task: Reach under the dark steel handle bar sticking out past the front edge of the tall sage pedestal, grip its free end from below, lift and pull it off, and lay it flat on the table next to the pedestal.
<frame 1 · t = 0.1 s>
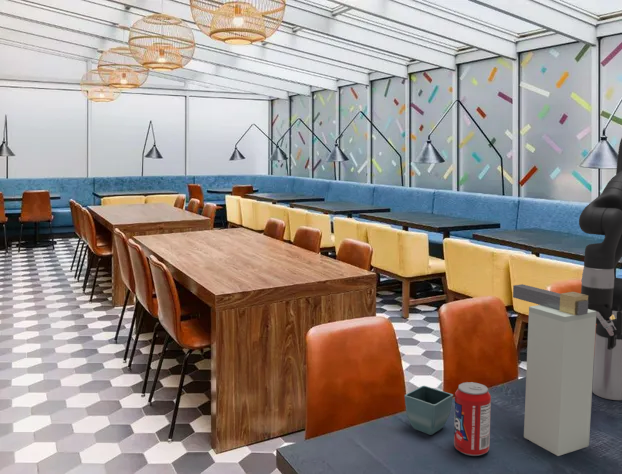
hand: (593, 345, 152), 17 cm above the table, tool pointing down, fingers open, 8 cm apart
flower pot: (428, 430, 143), on the table
soda can: (471, 450, 133), on the table
steel handle bar: (548, 305, 136), point 32 cm above the table, touching sage pedestal
sage pedestal: (555, 441, 136), on the table
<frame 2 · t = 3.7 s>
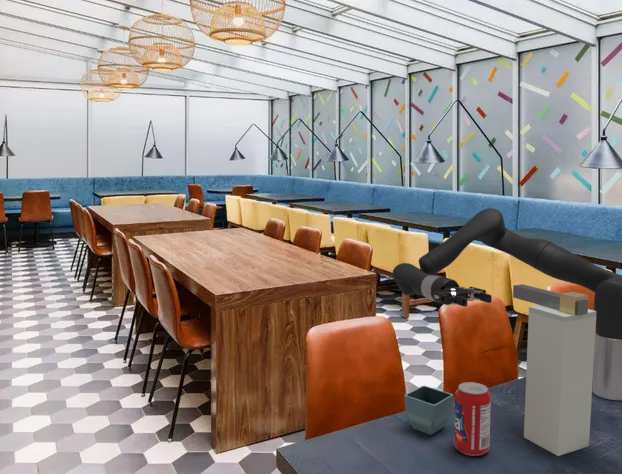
hand: (478, 301, 156), 28 cm above the table, tool horizontal, fingers open, 8 cm apart
nothing on the table moved.
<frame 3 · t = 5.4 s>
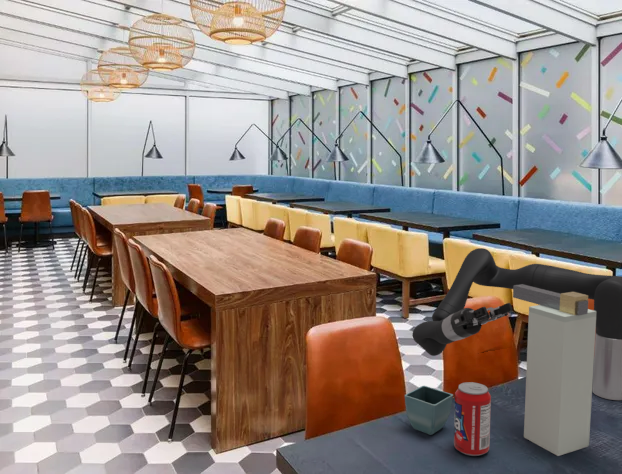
hand: (498, 308, 150), 28 cm above the table, tool pointing upward, fingers open, 8 cm apart
nothing on the table moved.
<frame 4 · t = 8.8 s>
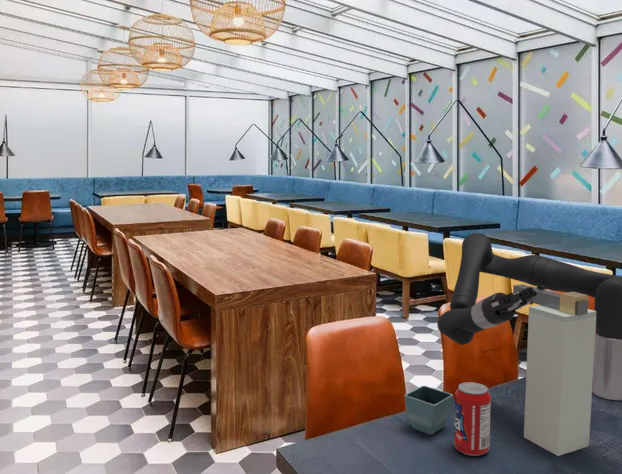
hand: (538, 290, 138), 35 cm above the table, tool pointing upward, fingers closed on steel handle bar, 3 cm apart
steel handle bar: (548, 305, 136), point 32 cm above the table, touching gripper, sage pedestal
everything else where it was.
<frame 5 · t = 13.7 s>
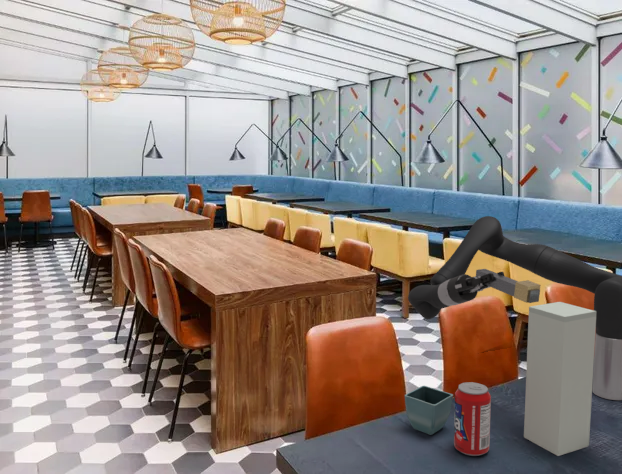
hand: (497, 276, 150), 36 cm above the table, tool pointing upward, fingers closed on steel handle bar, 3 cm apart
steel handle bar: (505, 290, 148), point 33 cm above the table, tilted 6°, touching gripper
everything else where it was.
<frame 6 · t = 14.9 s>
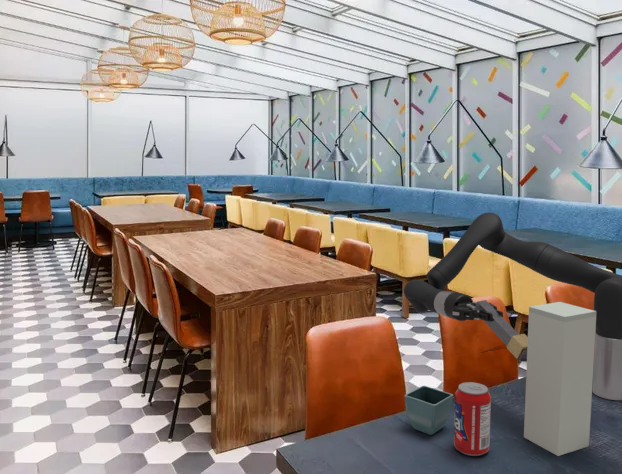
hand: (496, 316, 151), 25 cm above the table, tool horizontal, fingers closed on steel handle bar, 3 cm apart
steel handle bar: (499, 333, 150), point 21 cm above the table, tilted 27°, touching gripper
everything else where it was.
when the fingers open (10 cm above the table, at t = 18.2 s): steel handle bar drops 6 cm, on the table.
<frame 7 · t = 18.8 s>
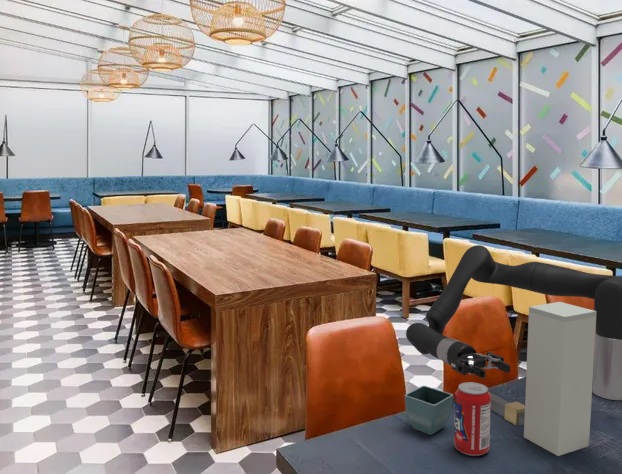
hand: (496, 371, 152), 10 cm above the table, tool horizontal, fingers open, 8 cm apart
steel handle bar: (496, 410, 154), on the table
everything else where it was.
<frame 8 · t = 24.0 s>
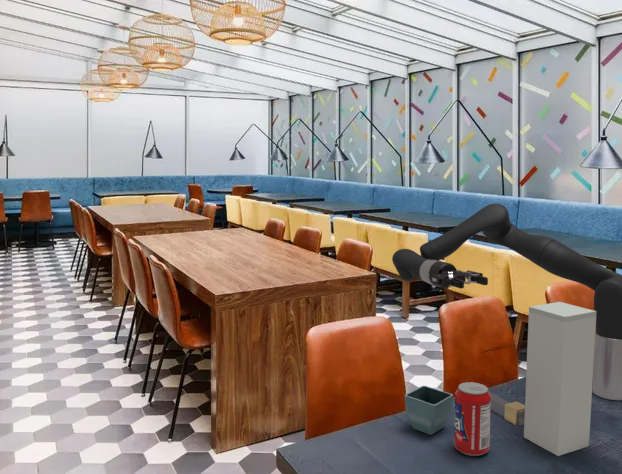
hand: (475, 283, 160), 32 cm above the table, tool horizontal, fingers open, 8 cm apart
nothing on the table moved.
at the end: steel handle bar inside the target area (2.0 cm from its centre), on the table; the gripper is holding nothing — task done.
